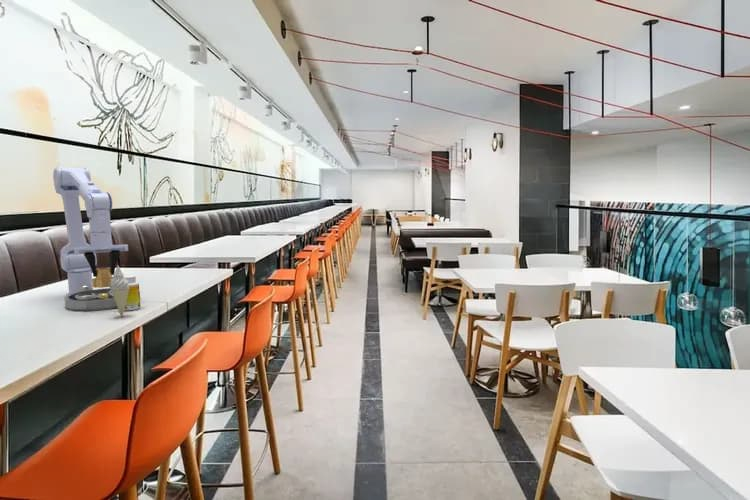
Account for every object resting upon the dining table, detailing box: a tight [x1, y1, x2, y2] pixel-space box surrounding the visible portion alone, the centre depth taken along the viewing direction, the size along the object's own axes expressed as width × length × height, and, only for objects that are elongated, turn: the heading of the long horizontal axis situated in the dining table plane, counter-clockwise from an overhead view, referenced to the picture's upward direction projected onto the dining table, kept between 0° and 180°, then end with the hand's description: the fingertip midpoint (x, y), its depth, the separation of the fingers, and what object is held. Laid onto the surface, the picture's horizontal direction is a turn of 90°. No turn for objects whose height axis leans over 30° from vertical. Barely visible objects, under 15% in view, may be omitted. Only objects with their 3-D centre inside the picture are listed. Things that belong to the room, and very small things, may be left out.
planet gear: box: [92, 267, 114, 289], centre depth 154 cm, size 6×6×6 cm
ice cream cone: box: [109, 264, 129, 317], centre depth 142 cm, size 5×5×15 cm
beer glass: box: [124, 274, 141, 312], centre depth 151 cm, size 6×6×10 cm
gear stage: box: [64, 284, 141, 312], centre depth 159 cm, size 21×21×6 cm
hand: (103, 275), depth 154 cm, fingers closed on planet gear, 4 cm apart
